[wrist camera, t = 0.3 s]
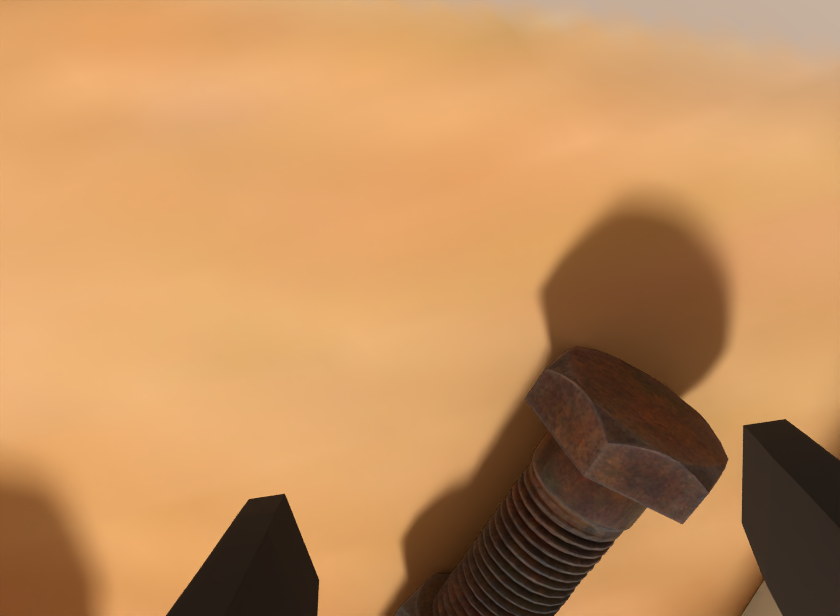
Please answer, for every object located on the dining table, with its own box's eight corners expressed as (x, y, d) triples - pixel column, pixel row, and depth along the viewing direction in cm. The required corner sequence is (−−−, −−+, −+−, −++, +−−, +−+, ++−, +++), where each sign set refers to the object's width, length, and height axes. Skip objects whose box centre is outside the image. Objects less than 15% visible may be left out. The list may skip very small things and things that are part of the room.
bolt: (391, 633, 29) (600, 333, 23) (489, 733, 27) (741, 434, 21) (296, 721, 24) (534, 365, 18) (409, 852, 22) (710, 501, 16)
